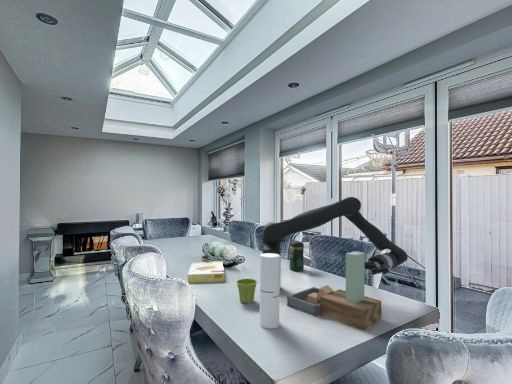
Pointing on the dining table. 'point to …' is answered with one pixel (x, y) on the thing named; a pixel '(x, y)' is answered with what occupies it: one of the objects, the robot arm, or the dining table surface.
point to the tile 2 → (324, 291)
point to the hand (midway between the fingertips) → (362, 269)
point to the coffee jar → (296, 256)
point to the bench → (350, 310)
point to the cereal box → (206, 272)
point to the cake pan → (205, 258)
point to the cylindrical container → (269, 290)
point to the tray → (304, 301)
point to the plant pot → (246, 289)
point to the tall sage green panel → (354, 277)
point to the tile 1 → (313, 298)
